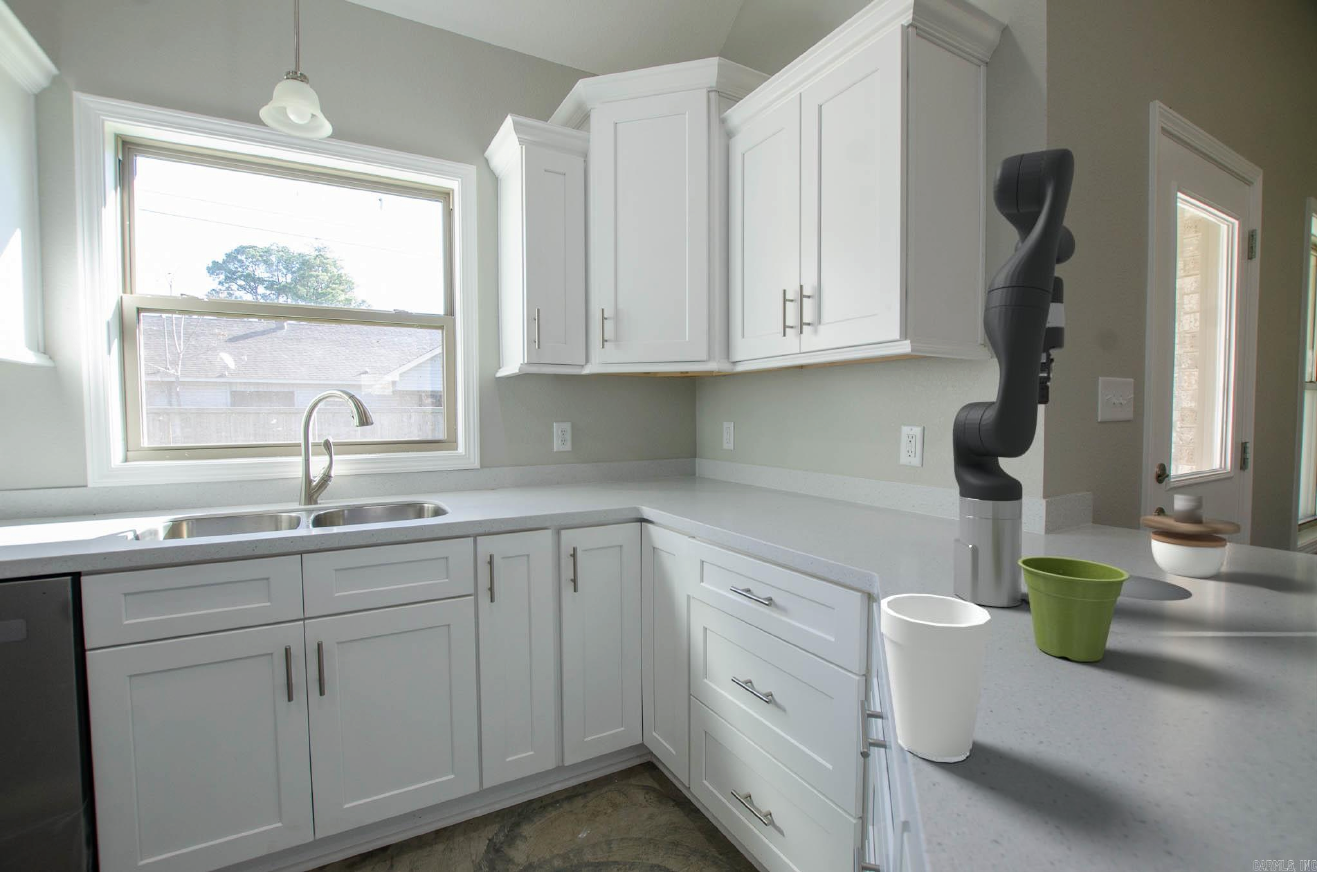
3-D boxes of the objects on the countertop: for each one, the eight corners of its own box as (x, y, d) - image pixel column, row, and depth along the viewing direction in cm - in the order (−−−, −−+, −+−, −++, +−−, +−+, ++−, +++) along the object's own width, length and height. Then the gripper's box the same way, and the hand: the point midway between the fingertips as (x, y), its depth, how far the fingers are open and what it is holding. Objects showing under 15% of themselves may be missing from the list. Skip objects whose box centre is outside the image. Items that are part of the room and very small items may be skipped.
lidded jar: (1242, 585, 104) (1243, 533, 104) (1173, 582, 107) (1174, 531, 106) (1199, 570, 115) (1200, 522, 115) (1137, 567, 117) (1138, 521, 117)
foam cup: (864, 720, 60) (864, 595, 60) (950, 715, 61) (950, 591, 60) (912, 777, 50) (912, 629, 50) (1013, 770, 51) (1014, 624, 51)
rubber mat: (1113, 603, 95) (1113, 600, 95) (1047, 575, 112) (1047, 572, 112) (1220, 603, 95) (1221, 600, 95) (1138, 575, 112) (1138, 572, 112)
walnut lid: (1181, 535, 104) (1181, 501, 103) (1122, 521, 118) (1122, 491, 117) (1263, 533, 103) (1263, 499, 103) (1193, 519, 117) (1193, 489, 117)
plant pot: (1096, 679, 69) (1097, 584, 68) (997, 644, 79) (998, 562, 79) (1147, 659, 74) (1148, 571, 74) (1048, 629, 84) (1049, 552, 84)
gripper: (1066, 321, 116) (1065, 403, 116) (1062, 330, 128) (1061, 404, 128) (1021, 325, 120) (1020, 404, 120) (1022, 332, 132) (1021, 404, 132)
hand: (1042, 404), depth 124 cm, fingers open, 8 cm apart
